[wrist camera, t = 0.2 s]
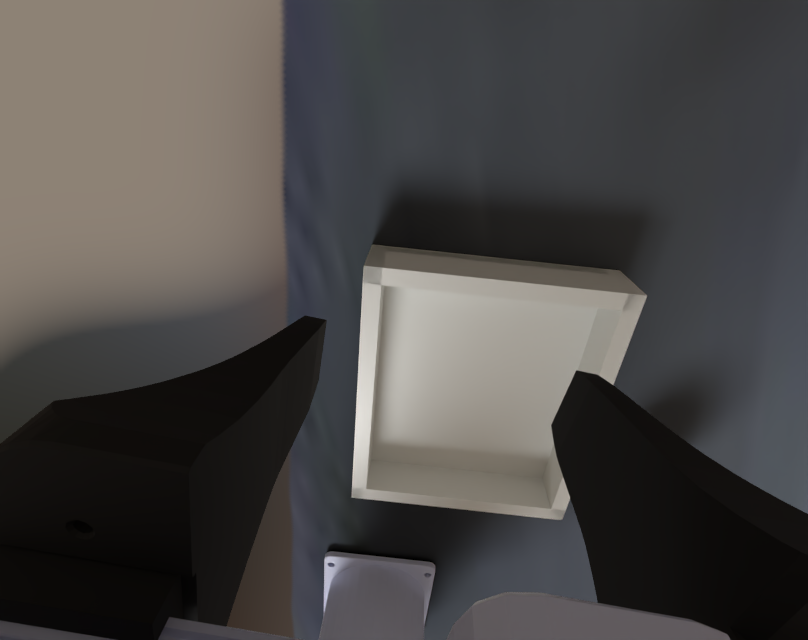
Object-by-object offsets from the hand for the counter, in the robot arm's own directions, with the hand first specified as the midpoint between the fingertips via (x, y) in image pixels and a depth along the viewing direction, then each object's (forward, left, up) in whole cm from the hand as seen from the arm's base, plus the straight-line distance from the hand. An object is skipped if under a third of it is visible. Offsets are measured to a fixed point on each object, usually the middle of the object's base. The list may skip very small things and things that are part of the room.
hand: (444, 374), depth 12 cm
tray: (-7, -3, -10) cm, 12 cm away
